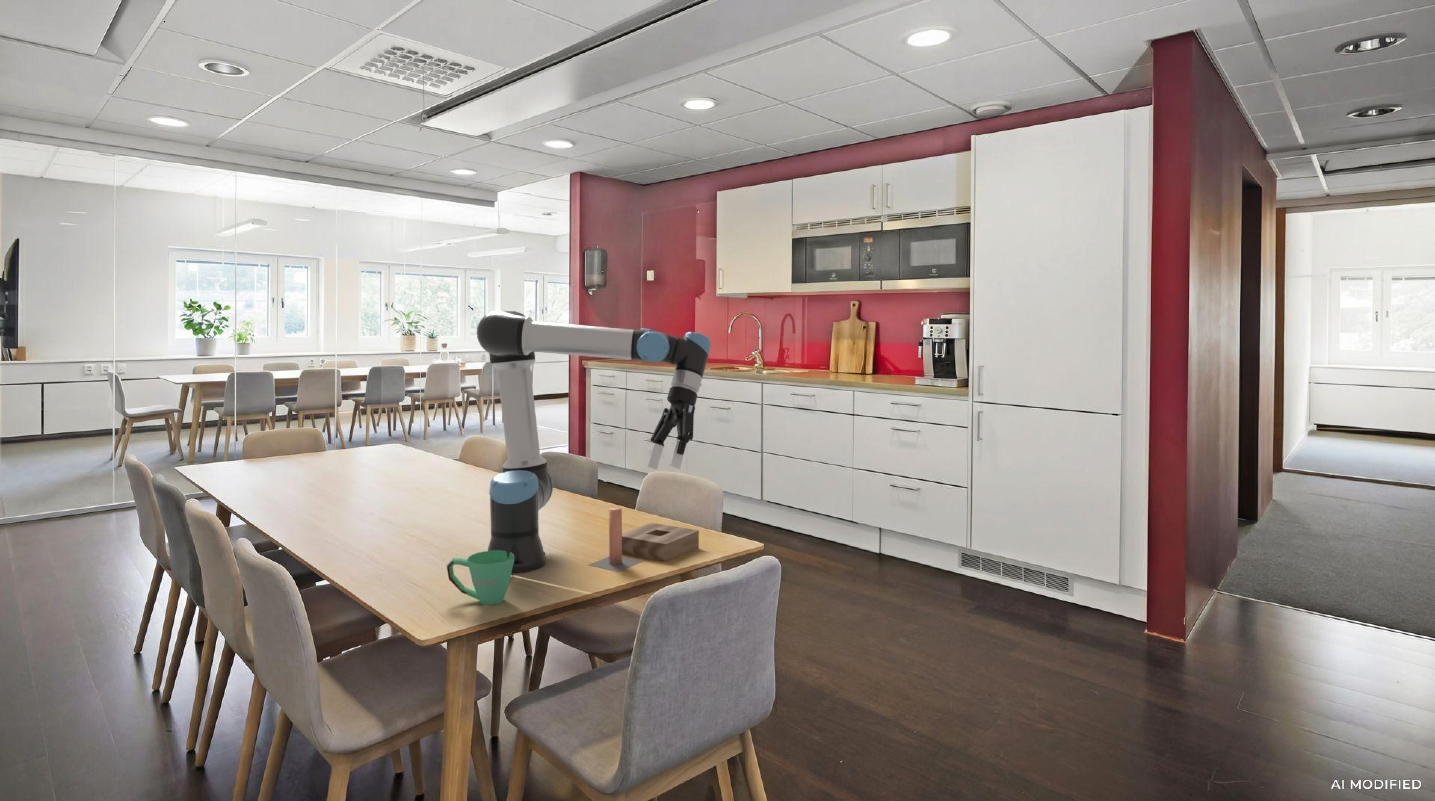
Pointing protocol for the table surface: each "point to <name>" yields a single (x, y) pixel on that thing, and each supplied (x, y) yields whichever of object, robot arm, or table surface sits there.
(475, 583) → the mug
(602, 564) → the mat
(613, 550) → the peg
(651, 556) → the hole block
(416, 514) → the table surface
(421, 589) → the table surface
